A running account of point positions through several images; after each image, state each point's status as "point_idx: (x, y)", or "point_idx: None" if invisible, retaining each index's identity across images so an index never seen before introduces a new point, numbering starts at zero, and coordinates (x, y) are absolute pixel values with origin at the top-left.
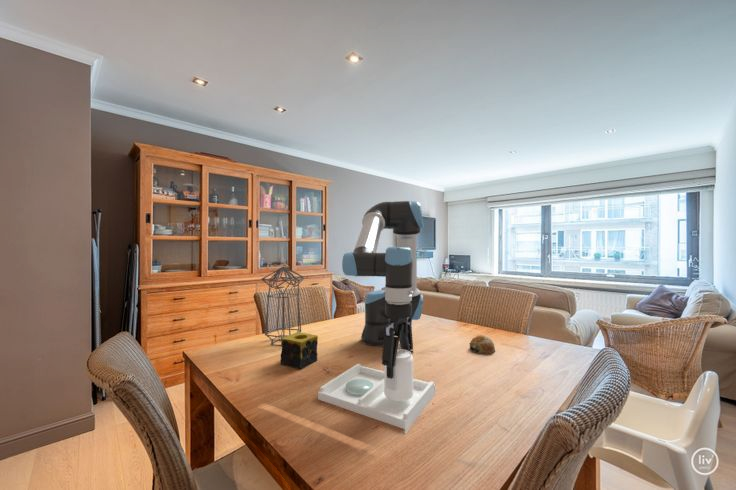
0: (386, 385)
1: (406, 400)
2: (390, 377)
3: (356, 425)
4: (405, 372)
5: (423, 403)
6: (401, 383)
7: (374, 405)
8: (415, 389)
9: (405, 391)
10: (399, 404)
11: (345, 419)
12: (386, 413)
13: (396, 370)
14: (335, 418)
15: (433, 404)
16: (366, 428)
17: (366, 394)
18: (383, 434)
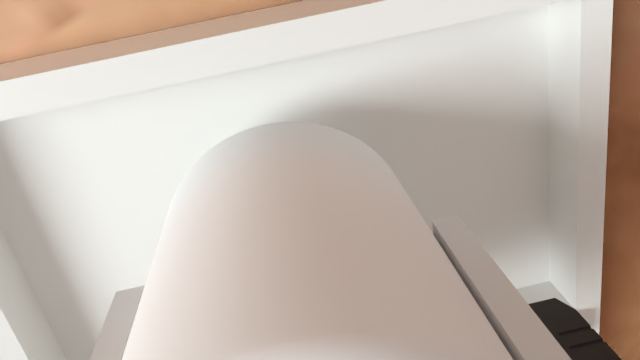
0: None
1: None
2: (571, 315)
3: (624, 223)
4: (414, 262)
5: (206, 27)
6: (418, 218)
7: None
8: (40, 222)
9: (362, 160)
10: None
11: (606, 297)
12: (595, 121)
13: (524, 346)
14: (623, 334)
15: (69, 4)
16: (622, 168)
17: None
18: (625, 57)
